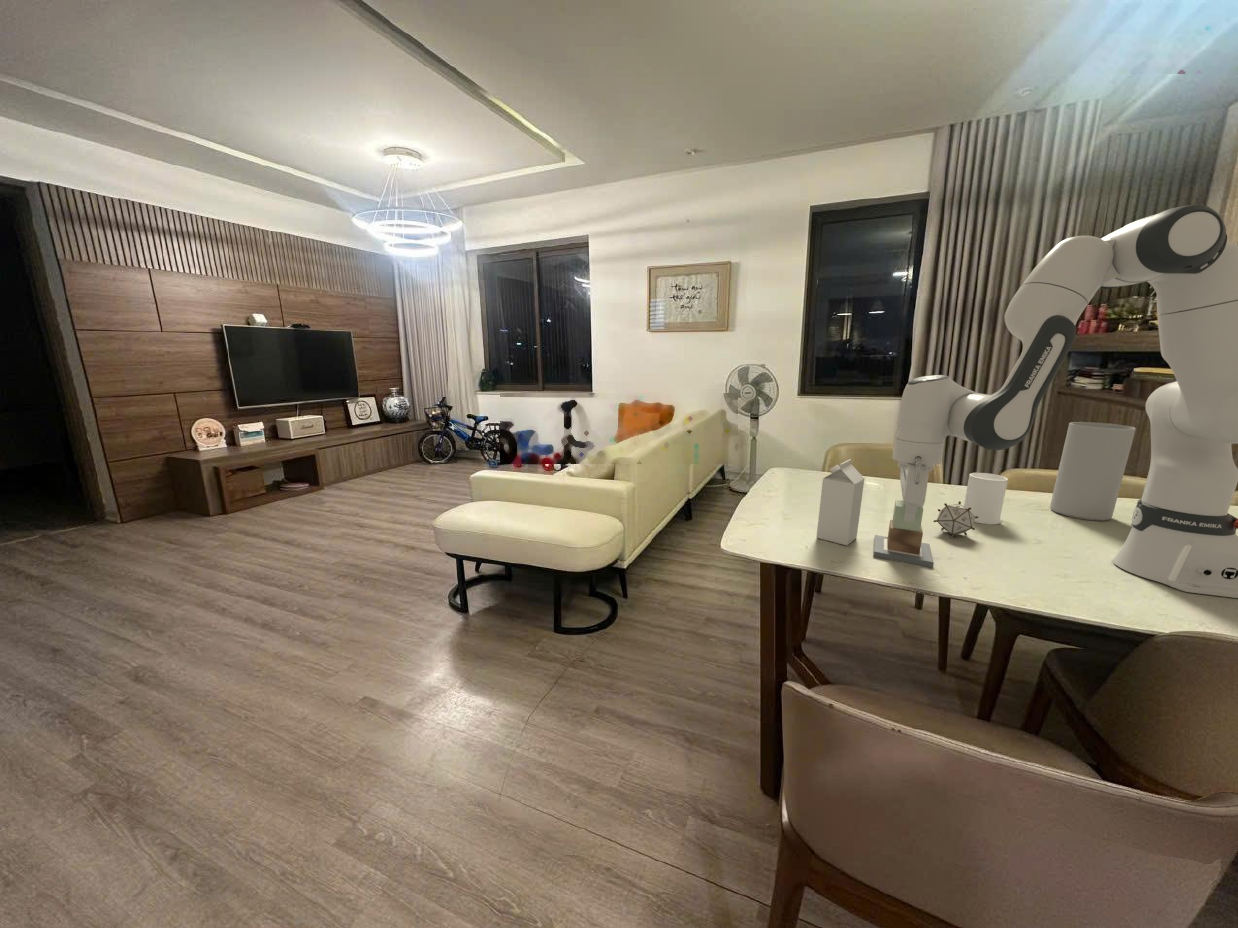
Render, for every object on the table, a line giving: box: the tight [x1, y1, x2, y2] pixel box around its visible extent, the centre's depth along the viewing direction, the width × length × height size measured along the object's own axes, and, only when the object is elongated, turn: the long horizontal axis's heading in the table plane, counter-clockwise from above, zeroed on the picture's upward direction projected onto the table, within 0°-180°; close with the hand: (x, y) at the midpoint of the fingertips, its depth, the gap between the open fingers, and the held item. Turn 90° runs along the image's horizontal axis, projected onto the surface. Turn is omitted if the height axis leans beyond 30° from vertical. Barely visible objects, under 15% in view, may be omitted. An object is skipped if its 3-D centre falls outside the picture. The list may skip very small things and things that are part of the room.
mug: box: [963, 472, 1009, 526], centre depth 125 cm, size 12×8×12 cm
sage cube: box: [892, 499, 924, 532], centre depth 102 cm, size 5×5×5 cm
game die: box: [932, 500, 978, 538], centre depth 114 cm, size 9×8×10 cm
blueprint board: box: [872, 534, 935, 568], centre depth 104 cm, size 11×11×1 cm
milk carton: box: [816, 459, 865, 546], centre depth 110 cm, size 7×7×19 cm
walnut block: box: [887, 519, 924, 555], centre depth 104 cm, size 6×6×5 cm
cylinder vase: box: [1049, 421, 1136, 522], centre depth 127 cm, size 12×12×25 cm
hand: (907, 514), depth 102 cm, fingers open, 8 cm apart
